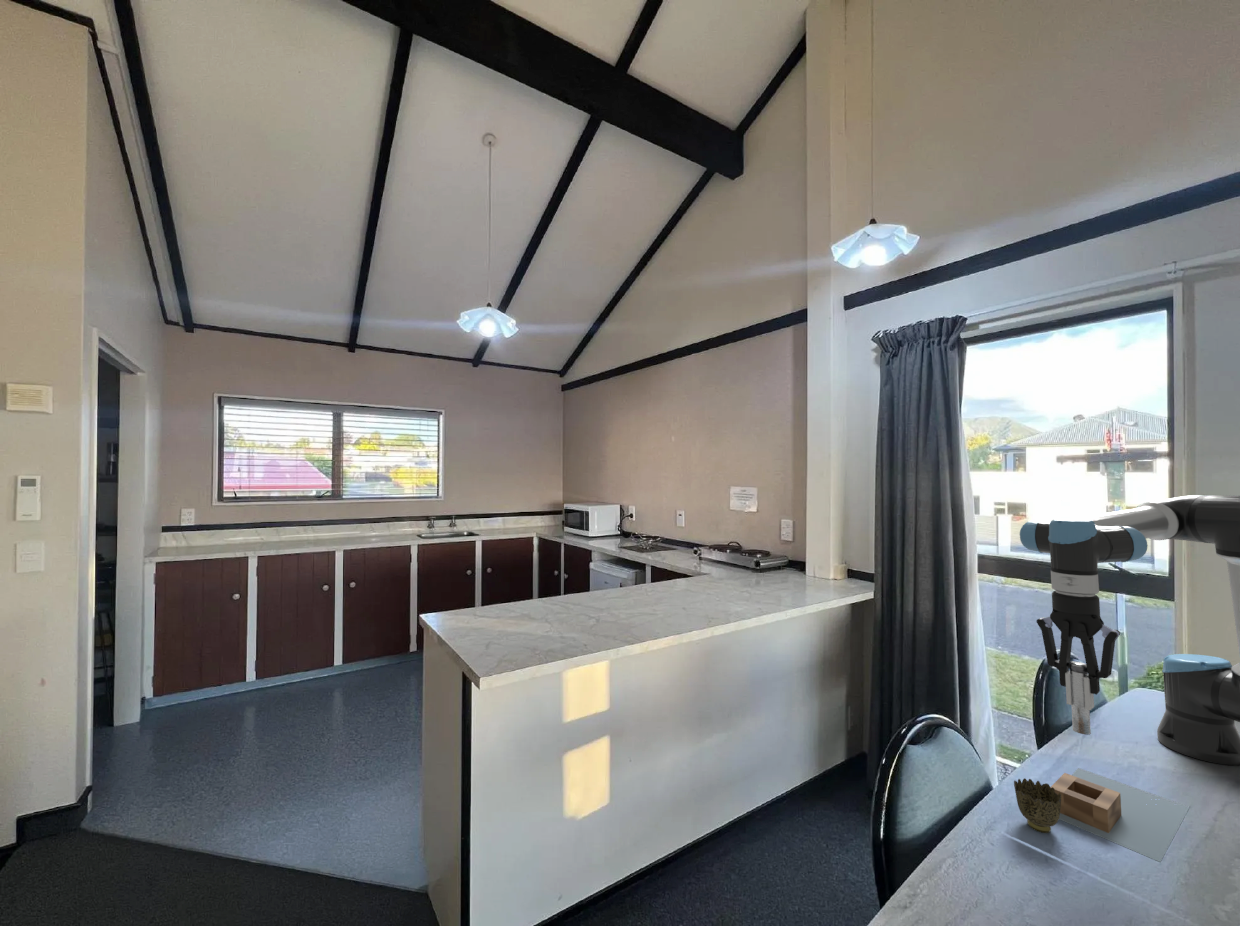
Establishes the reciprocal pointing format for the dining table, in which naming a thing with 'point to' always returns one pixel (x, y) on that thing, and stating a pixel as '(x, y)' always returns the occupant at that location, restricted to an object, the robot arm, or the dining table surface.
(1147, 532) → the robot arm
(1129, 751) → the dining table surface
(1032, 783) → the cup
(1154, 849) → the mat
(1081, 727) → the metal cylinder rod
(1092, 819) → the wooden block with hole
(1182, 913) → the dining table surface
